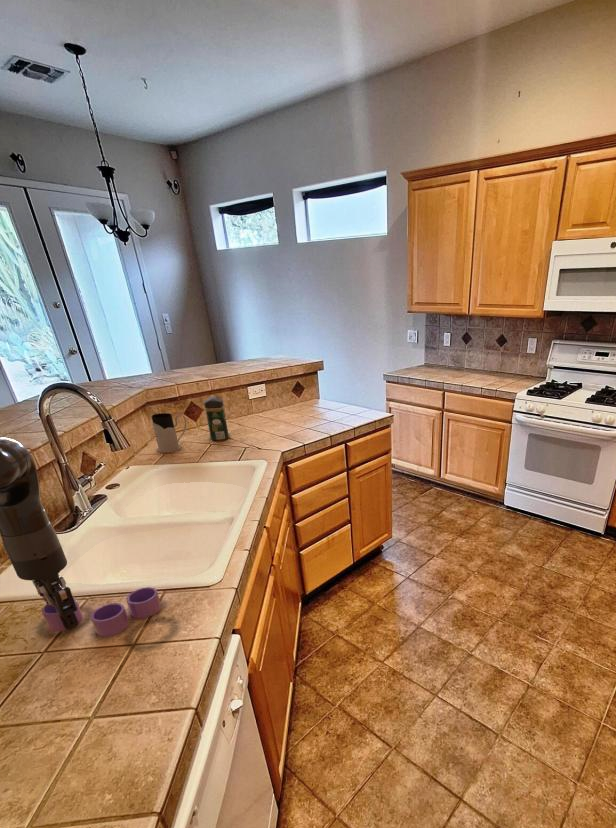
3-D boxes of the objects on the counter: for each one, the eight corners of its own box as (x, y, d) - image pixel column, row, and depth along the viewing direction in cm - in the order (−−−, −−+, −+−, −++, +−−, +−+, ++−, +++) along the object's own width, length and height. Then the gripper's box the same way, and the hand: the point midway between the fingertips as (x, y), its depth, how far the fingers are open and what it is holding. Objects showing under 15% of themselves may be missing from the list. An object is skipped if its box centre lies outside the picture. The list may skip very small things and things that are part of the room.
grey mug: (153, 450, 182) (145, 415, 176) (184, 442, 193) (177, 409, 186) (165, 454, 178) (157, 419, 171) (196, 446, 189) (189, 412, 182)
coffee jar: (211, 435, 203) (204, 396, 195) (229, 434, 206) (222, 395, 197) (209, 441, 195) (202, 400, 187) (228, 440, 197) (221, 399, 189)
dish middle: (92, 630, 85) (85, 613, 83) (121, 615, 89) (116, 599, 87) (105, 642, 82) (98, 625, 80) (135, 626, 86) (129, 610, 84)
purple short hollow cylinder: (44, 623, 86) (36, 607, 84) (76, 609, 90) (69, 593, 88) (55, 635, 83) (48, 618, 81) (87, 620, 87) (81, 603, 85)
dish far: (126, 613, 90) (121, 596, 88) (153, 599, 94) (148, 584, 92) (140, 623, 87) (134, 607, 85) (167, 609, 91) (162, 593, 89)
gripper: (-5, 544, 79) (29, 616, 87) (23, 571, 72) (58, 646, 80) (43, 529, 85) (71, 597, 93) (74, 552, 78) (102, 624, 85)
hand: (65, 620), depth 86 cm, fingers closed on purple short hollow cylinder, 5 cm apart
